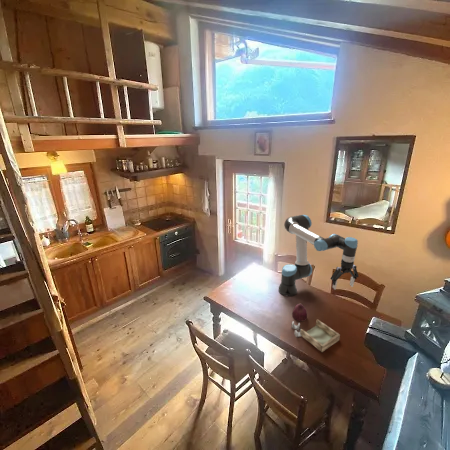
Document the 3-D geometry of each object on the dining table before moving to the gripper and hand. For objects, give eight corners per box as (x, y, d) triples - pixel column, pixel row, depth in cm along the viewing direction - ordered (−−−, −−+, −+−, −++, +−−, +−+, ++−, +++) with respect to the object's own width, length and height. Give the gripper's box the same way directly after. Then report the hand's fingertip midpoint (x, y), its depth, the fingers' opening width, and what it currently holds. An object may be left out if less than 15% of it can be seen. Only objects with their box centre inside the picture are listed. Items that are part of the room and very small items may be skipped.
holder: (300, 334, 166) (300, 329, 164) (316, 324, 175) (317, 319, 173) (322, 352, 152) (322, 346, 151) (339, 340, 161) (340, 334, 160)
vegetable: (303, 326, 178) (307, 313, 169) (289, 319, 183) (292, 307, 174) (308, 315, 185) (311, 302, 176) (294, 308, 190) (297, 296, 181)
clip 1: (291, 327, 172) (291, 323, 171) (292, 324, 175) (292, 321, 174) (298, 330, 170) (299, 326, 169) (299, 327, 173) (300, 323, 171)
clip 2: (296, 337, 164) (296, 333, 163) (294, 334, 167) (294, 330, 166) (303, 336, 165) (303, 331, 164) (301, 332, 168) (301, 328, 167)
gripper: (334, 265, 159) (330, 292, 166) (368, 260, 164) (362, 287, 171) (327, 259, 166) (323, 286, 173) (359, 255, 171) (354, 281, 178)
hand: (342, 287), depth 172 cm, fingers open, 13 cm apart
